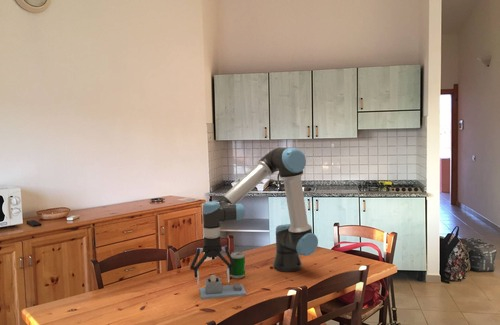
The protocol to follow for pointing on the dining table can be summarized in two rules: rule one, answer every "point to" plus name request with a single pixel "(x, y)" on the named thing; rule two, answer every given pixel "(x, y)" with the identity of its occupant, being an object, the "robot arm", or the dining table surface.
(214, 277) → the keeper
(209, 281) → the grey tapered block
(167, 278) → the dining table surface
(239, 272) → the soda can
